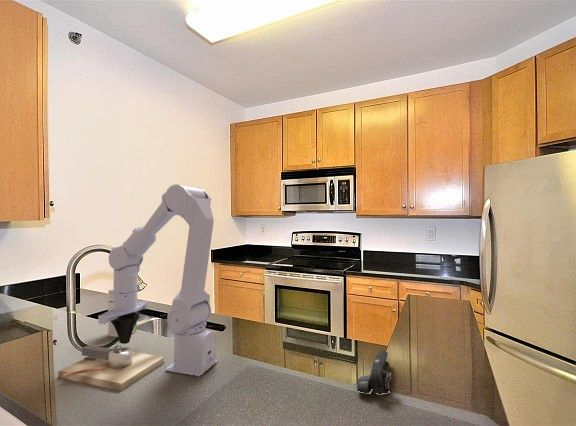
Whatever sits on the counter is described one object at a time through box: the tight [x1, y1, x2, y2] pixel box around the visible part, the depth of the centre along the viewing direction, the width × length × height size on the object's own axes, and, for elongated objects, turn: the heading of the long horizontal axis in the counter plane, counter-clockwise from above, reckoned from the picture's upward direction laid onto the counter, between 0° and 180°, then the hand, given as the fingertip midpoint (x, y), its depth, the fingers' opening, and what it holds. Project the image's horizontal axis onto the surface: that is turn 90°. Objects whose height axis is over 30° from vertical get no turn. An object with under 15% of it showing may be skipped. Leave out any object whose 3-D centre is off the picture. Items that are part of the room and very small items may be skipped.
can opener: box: [356, 350, 393, 394], centre depth 68 cm, size 18×7×6 cm, turn 153°
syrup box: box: [107, 288, 138, 338], centre depth 95 cm, size 6×6×14 cm
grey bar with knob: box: [81, 344, 134, 369], centre depth 73 cm, size 14×5×4 cm, turn 73°
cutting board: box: [57, 347, 165, 392], centre depth 71 cm, size 18×15×2 cm
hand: (124, 342), depth 81 cm, fingers closed
